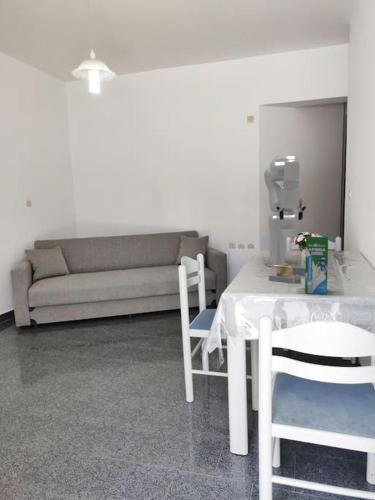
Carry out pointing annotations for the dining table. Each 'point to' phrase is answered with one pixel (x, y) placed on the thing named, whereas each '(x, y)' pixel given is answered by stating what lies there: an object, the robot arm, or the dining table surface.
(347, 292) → the dining table surface
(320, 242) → the milk carton
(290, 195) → the robot arm
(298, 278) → the bay
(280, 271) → the block
